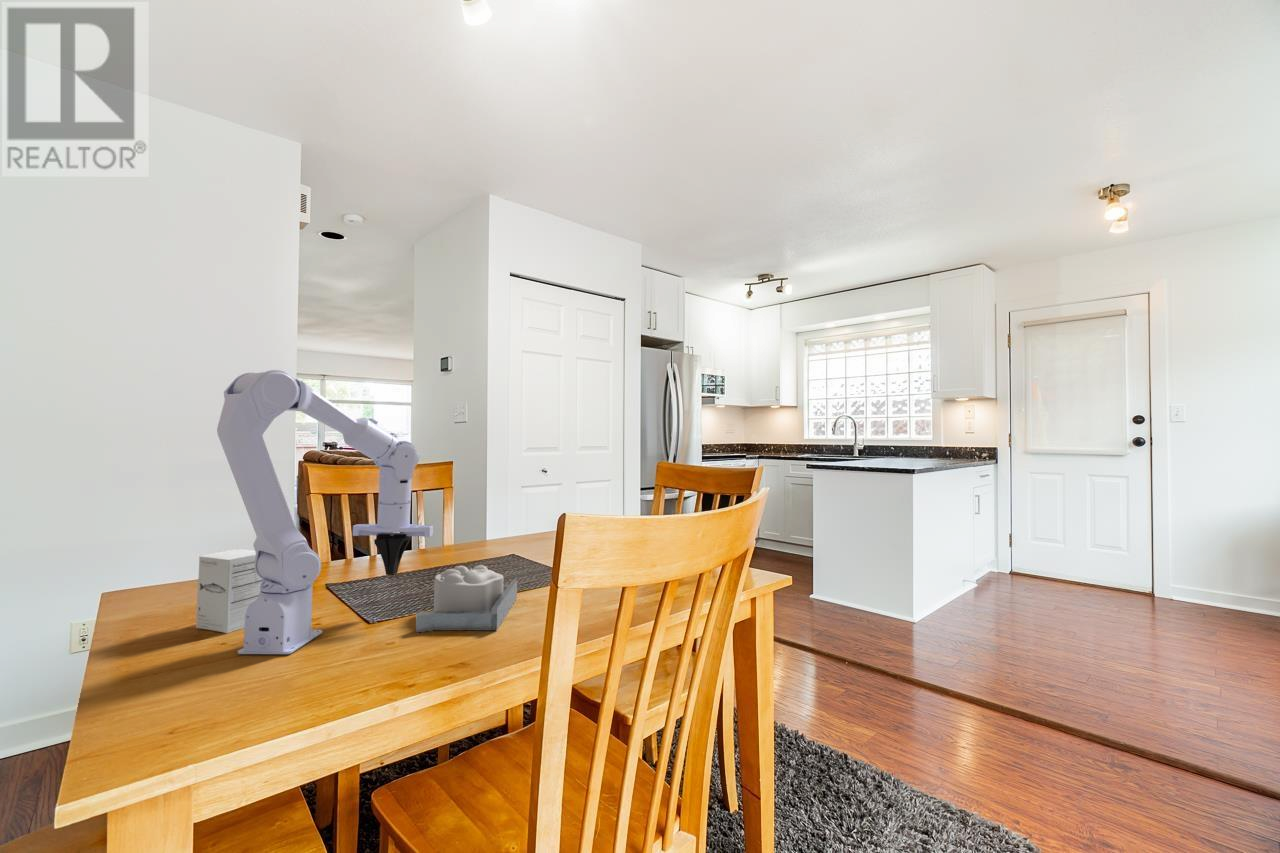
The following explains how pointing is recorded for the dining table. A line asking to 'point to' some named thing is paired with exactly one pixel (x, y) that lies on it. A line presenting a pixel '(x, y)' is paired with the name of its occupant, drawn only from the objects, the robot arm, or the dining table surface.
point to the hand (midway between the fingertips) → (391, 573)
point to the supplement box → (226, 589)
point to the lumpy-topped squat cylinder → (467, 589)
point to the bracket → (469, 615)
